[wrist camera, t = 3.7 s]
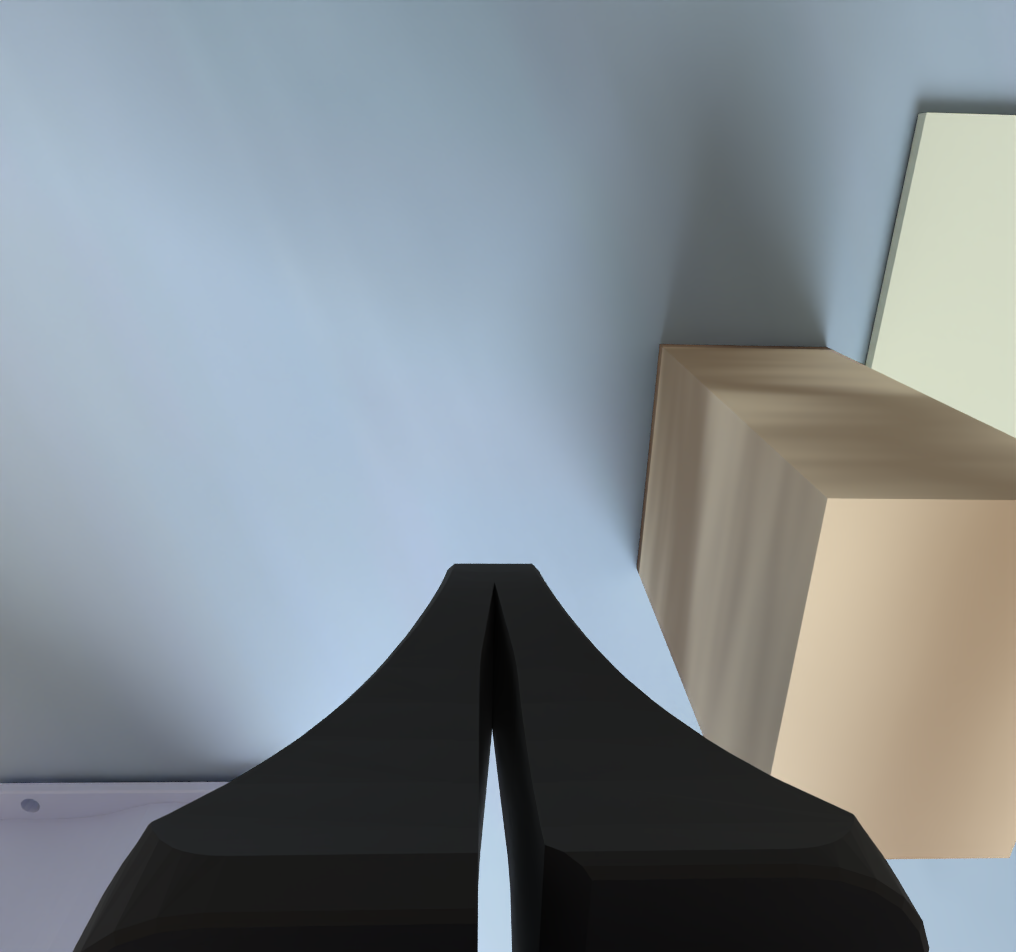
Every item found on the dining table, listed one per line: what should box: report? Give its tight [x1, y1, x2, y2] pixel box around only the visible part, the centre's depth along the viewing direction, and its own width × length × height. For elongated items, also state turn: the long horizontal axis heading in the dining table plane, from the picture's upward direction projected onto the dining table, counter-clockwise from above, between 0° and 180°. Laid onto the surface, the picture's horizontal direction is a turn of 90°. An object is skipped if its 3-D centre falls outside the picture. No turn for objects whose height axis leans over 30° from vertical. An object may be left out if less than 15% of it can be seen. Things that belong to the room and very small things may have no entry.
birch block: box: [637, 344, 1016, 859], centre depth 14 cm, size 4×6×9 cm, turn 179°
